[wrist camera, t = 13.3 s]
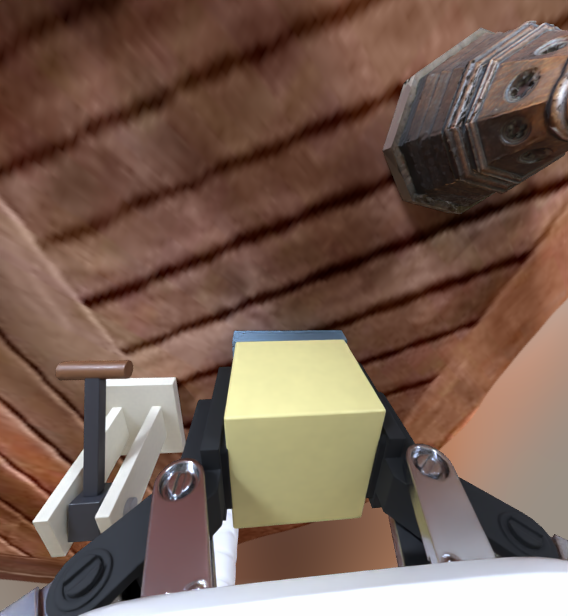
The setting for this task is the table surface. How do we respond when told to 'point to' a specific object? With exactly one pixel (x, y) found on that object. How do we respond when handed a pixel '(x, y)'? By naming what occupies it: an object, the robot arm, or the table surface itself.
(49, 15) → the table surface
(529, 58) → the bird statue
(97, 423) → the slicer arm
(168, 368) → the table surface
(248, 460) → the butter
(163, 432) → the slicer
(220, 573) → the water bottle
